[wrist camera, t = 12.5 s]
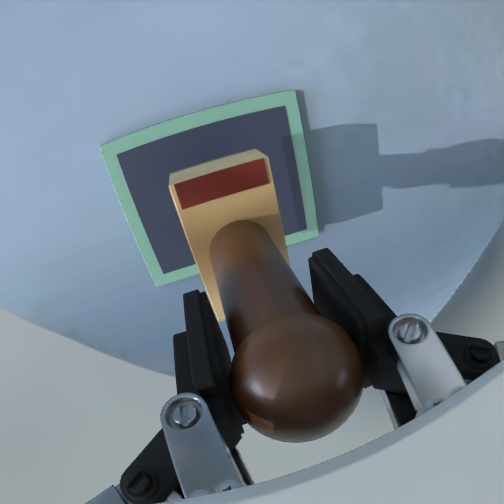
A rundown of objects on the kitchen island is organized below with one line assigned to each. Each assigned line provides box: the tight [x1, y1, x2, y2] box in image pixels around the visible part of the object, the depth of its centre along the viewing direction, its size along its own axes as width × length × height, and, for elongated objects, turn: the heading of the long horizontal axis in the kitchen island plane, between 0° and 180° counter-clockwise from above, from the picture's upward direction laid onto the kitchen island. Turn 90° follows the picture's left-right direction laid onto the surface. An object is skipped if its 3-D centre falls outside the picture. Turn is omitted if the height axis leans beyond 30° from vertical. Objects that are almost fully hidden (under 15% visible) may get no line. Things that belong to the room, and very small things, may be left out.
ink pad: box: [99, 90, 319, 287], centre depth 22 cm, size 14×12×1 cm
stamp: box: [169, 147, 365, 443], centre depth 12 cm, size 8×4×12 cm, turn 13°
